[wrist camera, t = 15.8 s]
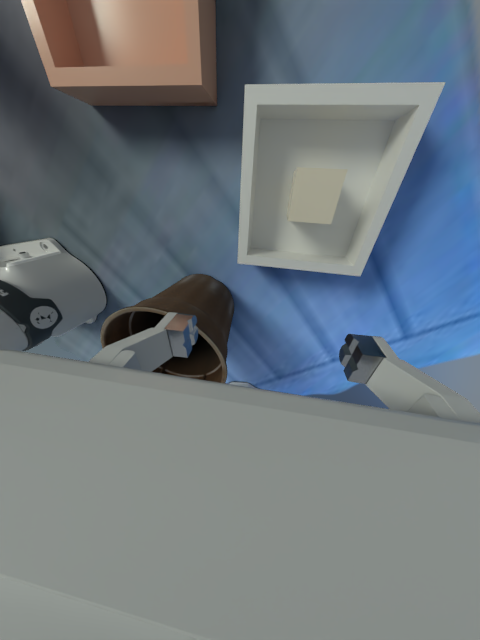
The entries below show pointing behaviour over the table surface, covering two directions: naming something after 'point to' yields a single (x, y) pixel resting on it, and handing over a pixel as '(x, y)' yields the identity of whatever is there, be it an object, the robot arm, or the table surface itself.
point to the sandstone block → (315, 194)
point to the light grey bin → (331, 153)
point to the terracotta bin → (128, 50)
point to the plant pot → (187, 298)
